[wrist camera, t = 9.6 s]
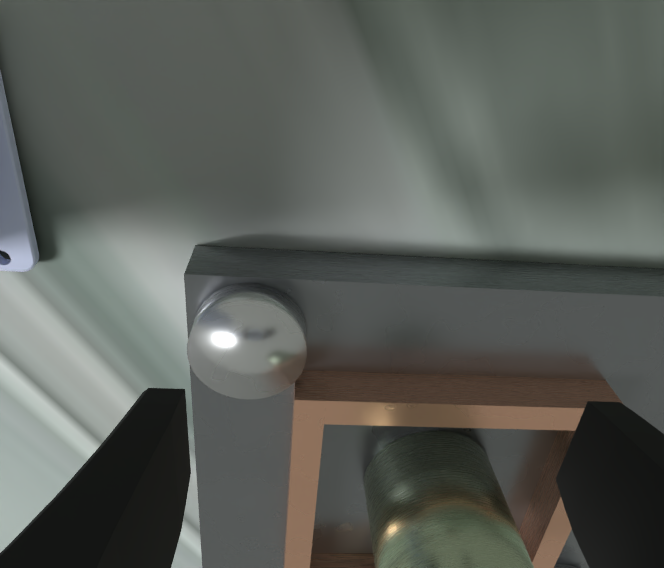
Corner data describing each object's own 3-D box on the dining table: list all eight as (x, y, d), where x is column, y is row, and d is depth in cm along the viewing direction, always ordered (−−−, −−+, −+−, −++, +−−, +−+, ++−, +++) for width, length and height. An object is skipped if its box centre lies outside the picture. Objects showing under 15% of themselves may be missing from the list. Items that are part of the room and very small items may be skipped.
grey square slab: (211, 571, 27) (199, 647, 24) (195, 245, 18) (173, 300, 15) (559, 572, 28) (590, 643, 25) (703, 271, 19) (777, 326, 16)
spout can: (351, 517, 22) (375, 741, 15) (379, 423, 20) (422, 638, 13) (468, 527, 23) (539, 744, 16) (508, 437, 20) (610, 648, 14)
